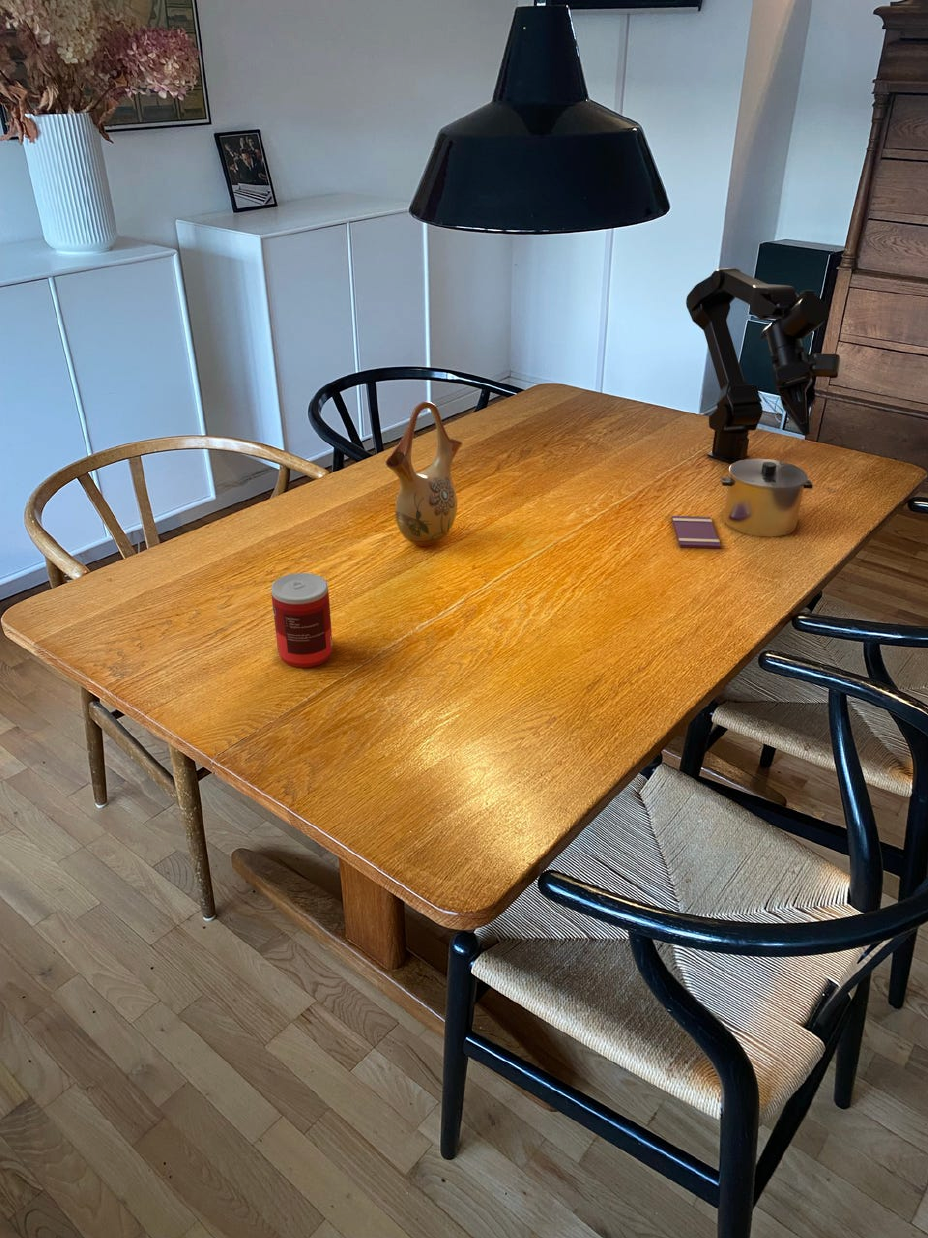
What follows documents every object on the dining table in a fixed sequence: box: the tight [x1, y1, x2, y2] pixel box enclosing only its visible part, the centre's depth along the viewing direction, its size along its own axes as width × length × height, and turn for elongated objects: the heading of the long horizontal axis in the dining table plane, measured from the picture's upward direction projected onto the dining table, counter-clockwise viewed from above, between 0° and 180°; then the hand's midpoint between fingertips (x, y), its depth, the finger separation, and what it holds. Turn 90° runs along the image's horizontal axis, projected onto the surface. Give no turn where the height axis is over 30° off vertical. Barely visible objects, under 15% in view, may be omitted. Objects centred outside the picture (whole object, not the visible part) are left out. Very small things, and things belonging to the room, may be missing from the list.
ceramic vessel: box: [385, 401, 463, 547], centre depth 157 cm, size 16×9×25 cm, turn 136°
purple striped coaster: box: [671, 515, 722, 550], centre depth 166 cm, size 12×7×1 cm, turn 176°
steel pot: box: [719, 458, 814, 538], centre depth 168 cm, size 14×16×11 cm
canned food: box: [270, 572, 334, 669], centre depth 129 cm, size 8×8×11 cm
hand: (805, 429), depth 172 cm, fingers open, 9 cm apart
